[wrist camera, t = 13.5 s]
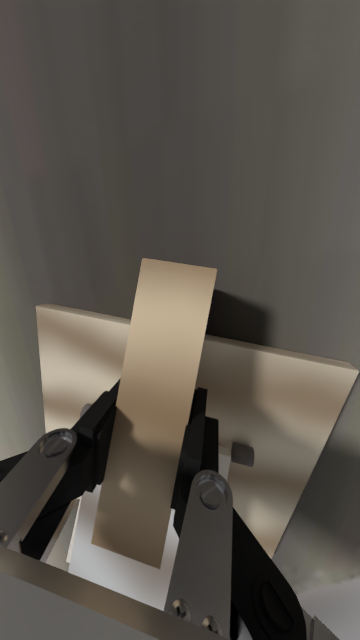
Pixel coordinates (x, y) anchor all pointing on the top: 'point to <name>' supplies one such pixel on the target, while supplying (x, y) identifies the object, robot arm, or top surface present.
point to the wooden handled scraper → (146, 437)
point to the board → (213, 404)
